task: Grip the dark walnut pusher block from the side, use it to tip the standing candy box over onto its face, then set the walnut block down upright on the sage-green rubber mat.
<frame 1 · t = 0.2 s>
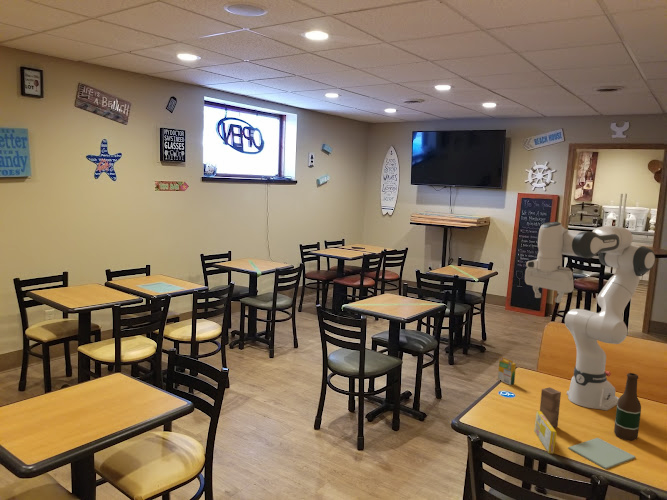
hand: (547, 299, 196), 47 cm above the table, tool pointing down, fingers open, 8 cm apart
walnut pusher block: (547, 425, 194), on the table
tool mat: (601, 453, 175), on the table
candy box: (543, 442, 182), on the table
crayon box: (505, 382, 236), on the table
beer bottle: (625, 436, 188), on the table
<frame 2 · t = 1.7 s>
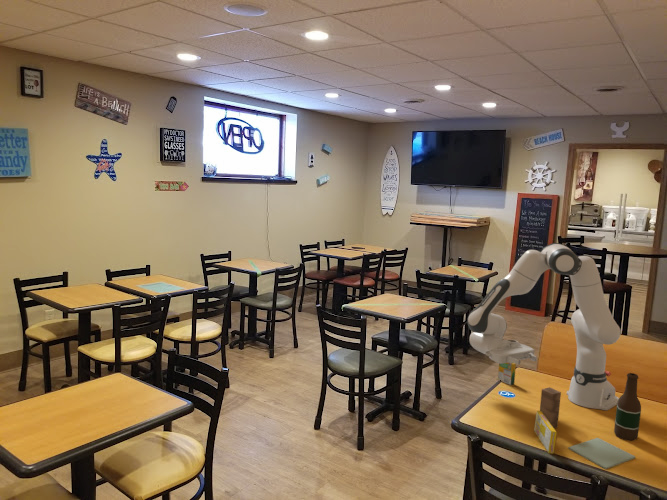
hand: (527, 360, 202), 22 cm above the table, tool horizontal, fingers open, 8 cm apart
nothing on the table moved.
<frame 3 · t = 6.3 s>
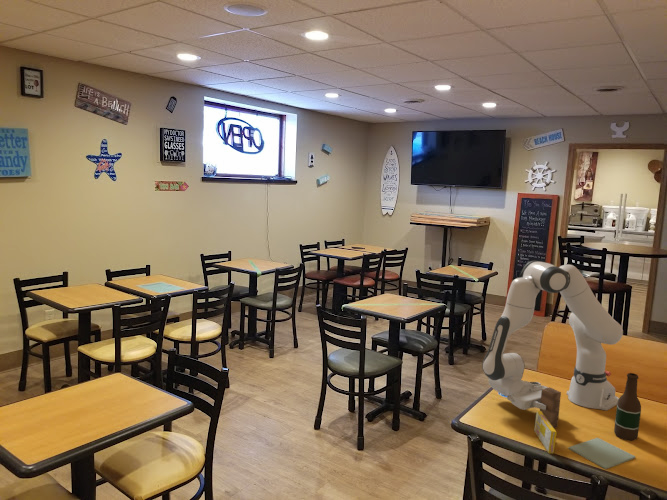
hand: (551, 406, 193), 8 cm above the table, tool horizontal, fingers closed on walnut pusher block, 4 cm apart
walnut pusher block: (547, 425, 194), on the table, touching gripper
everything else where it was.
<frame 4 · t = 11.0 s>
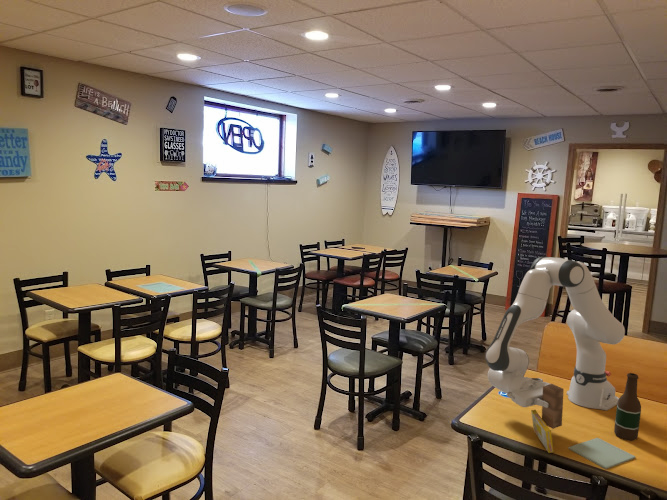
hand: (554, 404, 180), 14 cm above the table, tool horizontal, fingers closed on walnut pusher block, 5 cm apart
walnut pusher block: (551, 424, 183), point 6 cm above the table, touching gripper
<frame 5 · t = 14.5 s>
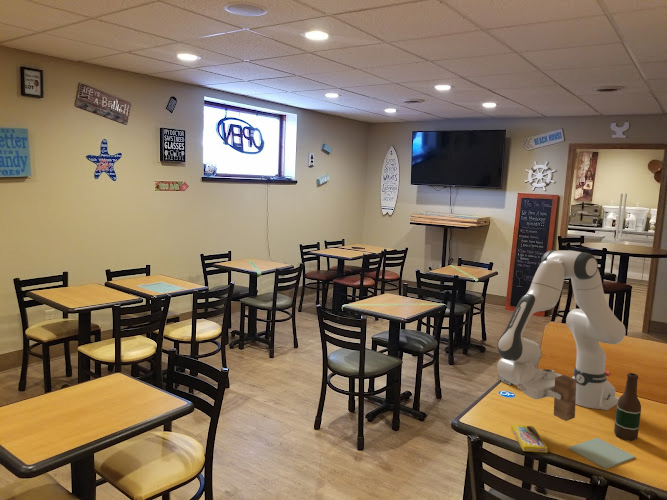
hand: (567, 395, 175), 19 cm above the table, tool horizontal, fingers closed on walnut pusher block, 5 cm apart
walnut pusher block: (564, 416, 177), point 11 cm above the table, touching gripper
candy box: (541, 438, 182), point 1 cm above the table
everything else where it was.
when the fingers open (10 cm above the table, at t = 17.8 s): walnut pusher block drops 1 cm, resting on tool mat.
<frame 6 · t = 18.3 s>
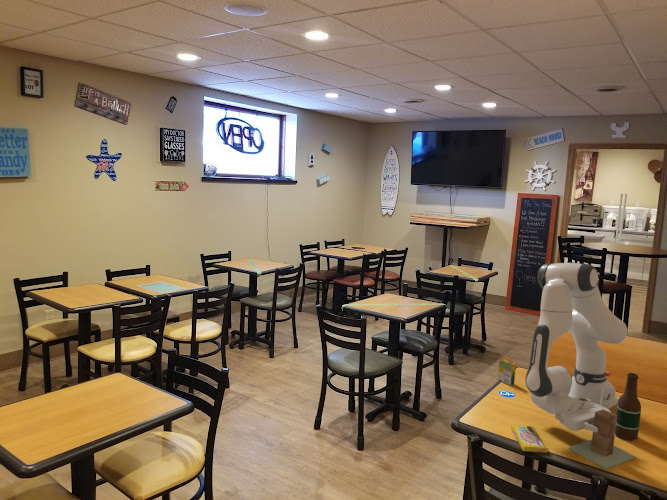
hand: (606, 427, 173), 10 cm above the table, tool horizontal, fingers open, 8 cm apart
walnut pusher block: (601, 451, 175), point 1 cm above the table, touching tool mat
everything else where it was.
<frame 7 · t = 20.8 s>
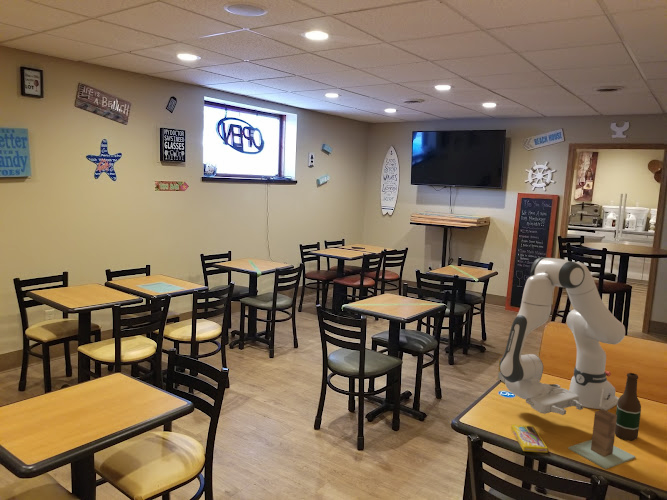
hand: (573, 410, 185), 10 cm above the table, tool horizontal, fingers open, 8 cm apart
nothing on the table moved.
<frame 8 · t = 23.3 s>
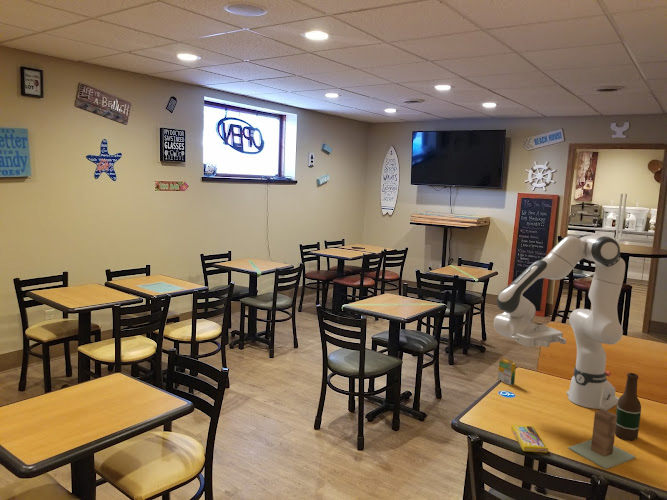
hand: (556, 343, 192), 32 cm above the table, tool horizontal, fingers open, 8 cm apart
nothing on the table moved.
at the end: candy box tilted 93°; walnut pusher block inside the target area on the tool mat (0.0 cm from its centre), point 0.6 cm above the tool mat's base; walnut pusher block tilted 0° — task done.
